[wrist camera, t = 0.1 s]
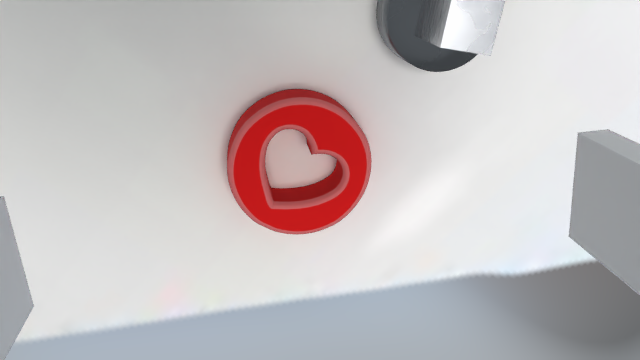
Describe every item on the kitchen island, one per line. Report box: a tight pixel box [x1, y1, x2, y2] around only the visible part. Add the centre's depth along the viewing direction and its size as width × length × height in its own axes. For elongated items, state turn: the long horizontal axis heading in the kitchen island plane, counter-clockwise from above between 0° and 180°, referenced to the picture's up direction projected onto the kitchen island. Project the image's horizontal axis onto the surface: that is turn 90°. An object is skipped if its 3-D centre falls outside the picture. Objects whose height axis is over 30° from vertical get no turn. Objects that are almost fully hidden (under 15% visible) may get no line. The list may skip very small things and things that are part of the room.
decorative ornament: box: [227, 89, 371, 234], centre depth 42 cm, size 10×10×3 cm
